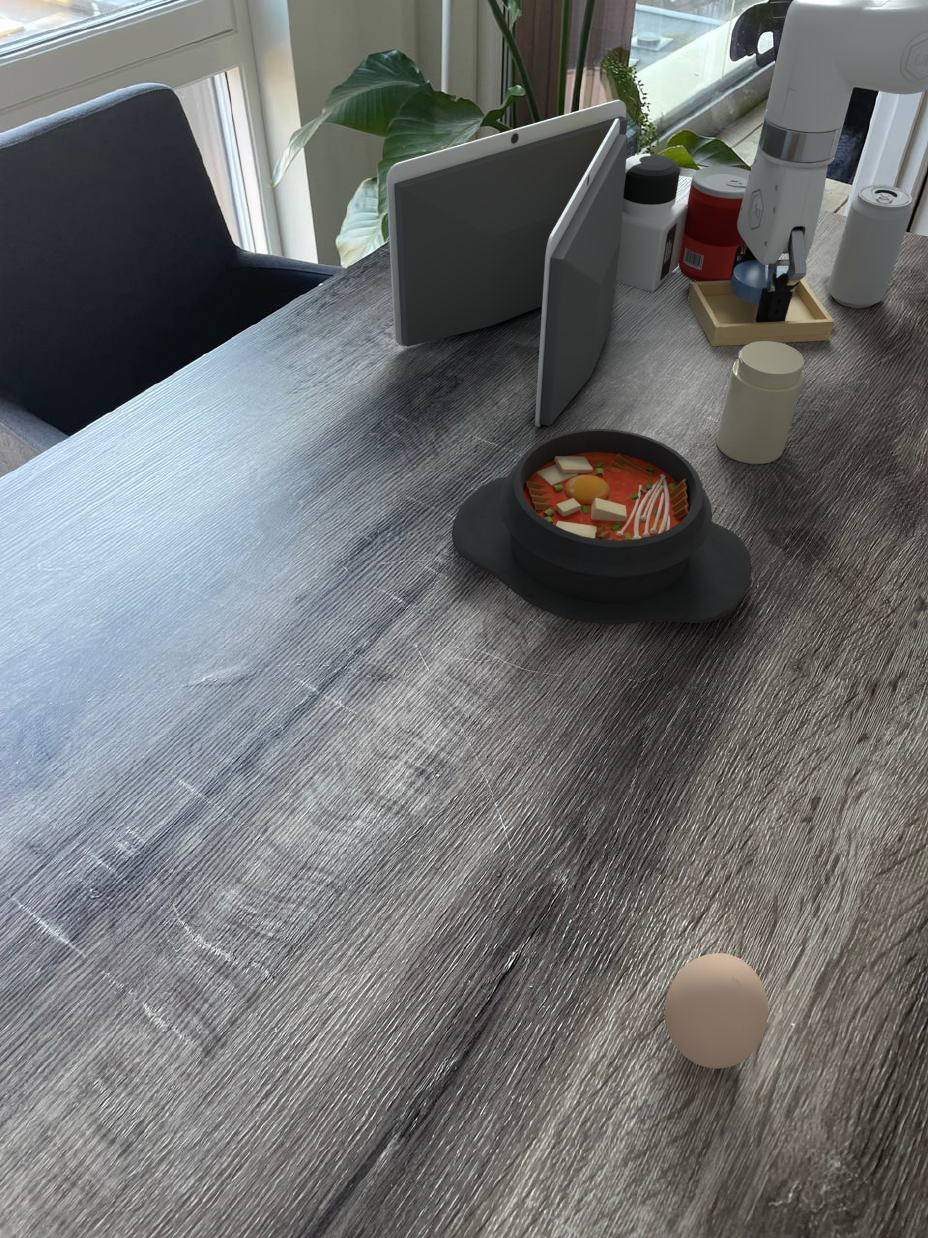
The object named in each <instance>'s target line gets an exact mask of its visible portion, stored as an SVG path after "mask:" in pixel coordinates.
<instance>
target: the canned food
mask: <svg viewBox="0 0 928 1238" xmlns="http://www.w3.org/2000/svg"><path fill="white" fill-rule="evenodd" d="M750 171H751V170H748V169H745V168H742V167H737V166H729V165H713V166H707V167H703V168H700V169H698V170H696V171H695V172H694V173H692V178H691V181H690V187H689V191H688V197H687V202H686V204H687V205H688V209H687V215H686V221H685V227H684V233H683V239H682V245H681V251H680V257H679V263H678V269H679V271H680V273H681V274H682V275H684V276H685V278H688V279H690V280H691V281H693V282H704V281H726V280H731V278H732V276H733V271H734V268H735V267H736V266H737V265H738V264H739V263H740V258H741V255H743V254H746V253H742V244H743V241H744V240H743V238H742V237H741V235H740V233H739V231H738V227H737V222H738V217H739V213H740V209H741V205H742V201H743V197H744V193H745V189H746V186H747V182H748V178H749V175H750Z"/></svg>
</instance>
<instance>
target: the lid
mask: <svg viewBox="0 0 928 1238" xmlns="http://www.w3.org/2000/svg"><path fill="white" fill-rule="evenodd" d="M787 270H788V266H777V277H779V276H780V275H781V274H783V273H786V272H787ZM767 278H768V265H762V264H761V263H760V262H759V261H758V260H750V261H745V262H742V263H740V264H738V265H737V266H736V267H735V268H734V271H733V276H732V278H731V283H730V287H731V290H732V292H733V293H734V294H735V295H736V296H737V297H739V298H740V299H742V300H745V301H747V302H750V303H754V304H759V302H760V298H761V294H762V289H763V288H767ZM794 292H795V291H793V293H792V297H793V296H794ZM792 297H791V299H792Z"/></svg>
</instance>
